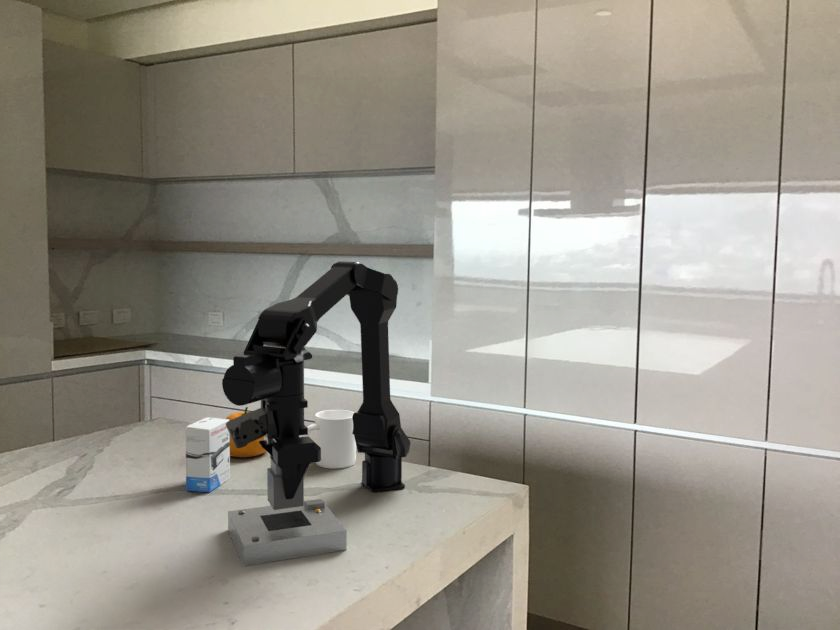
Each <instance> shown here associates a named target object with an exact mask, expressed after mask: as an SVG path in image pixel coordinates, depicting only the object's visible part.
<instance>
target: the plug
mask: <svg viewBox="0 0 840 630" xmlns="http://www.w3.org/2000/svg"><path fill="white" fill-rule="evenodd" d="M266 469H267V470H266V471H267V473H266V476H267V477H266V479H267V482H266V483H267V484H266V485H267V502H268V503H269V504H270V505H269V506H272V508H273V509H274V510H278V509H286V508H293V507H300V506H304V501H305V498H304V497H305V494H304V491H305V489H304V482H305V481H304V478H305V477H304V476H303V478H302V480H301V483H300V485H299V487H298V489H297V491H296V493H295V496H294V498H293V499H286V498H285V493H284V488H283V482H282V477H281V471H280V467H279V466H278V465H276V464H275V463H274V462H273V461H272V460H271V459H270V467H269V468H266Z"/></svg>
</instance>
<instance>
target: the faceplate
mask: <svg viewBox="0 0 840 630" xmlns="http://www.w3.org/2000/svg"><path fill="white" fill-rule="evenodd" d="M227 525H228V526H227V528H228V530H227V531H228V533H229V534H230V537H231V539H232V541H233V544H234V546H235V548H236V549H235V550H236V551H237V554H238V555H239V557H240V560H241V563H242V564H243V567H248V566H253V565H261V564H265V563H271V562H277V561H278V562H279V561H284V560H291V559H297V558H303V557H310V556H315V555H320V554H321V555H323V554H327V553H335V552H340V551H347V545H348V544H347V540H348V539H347V531H348V530H347V529H346V528H345V526H344V525H343V523H341V522H340V520H339V519H338V518H337V517H336V516H335V514H334V513H333V512H332V511H331V510H330V508H329V507H328V506H327V505H326V503H325V501H324V500H323V499H322V498H317V499H310V500H304V506H300V507H293V508H286V509H278V510H274V509H273V508H272V506H271V505H267V506H266V505H265V506H258V507H251V508H243V509H235V510H228V511H227Z"/></svg>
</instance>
